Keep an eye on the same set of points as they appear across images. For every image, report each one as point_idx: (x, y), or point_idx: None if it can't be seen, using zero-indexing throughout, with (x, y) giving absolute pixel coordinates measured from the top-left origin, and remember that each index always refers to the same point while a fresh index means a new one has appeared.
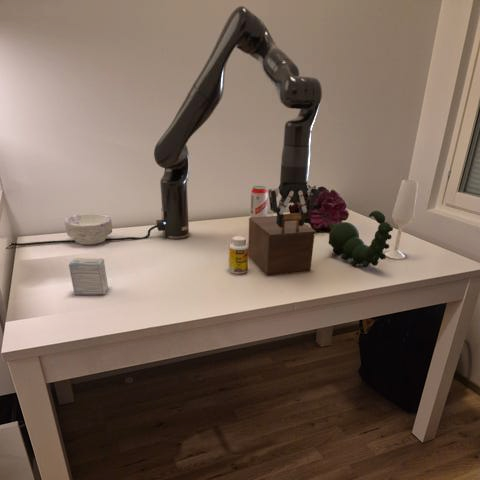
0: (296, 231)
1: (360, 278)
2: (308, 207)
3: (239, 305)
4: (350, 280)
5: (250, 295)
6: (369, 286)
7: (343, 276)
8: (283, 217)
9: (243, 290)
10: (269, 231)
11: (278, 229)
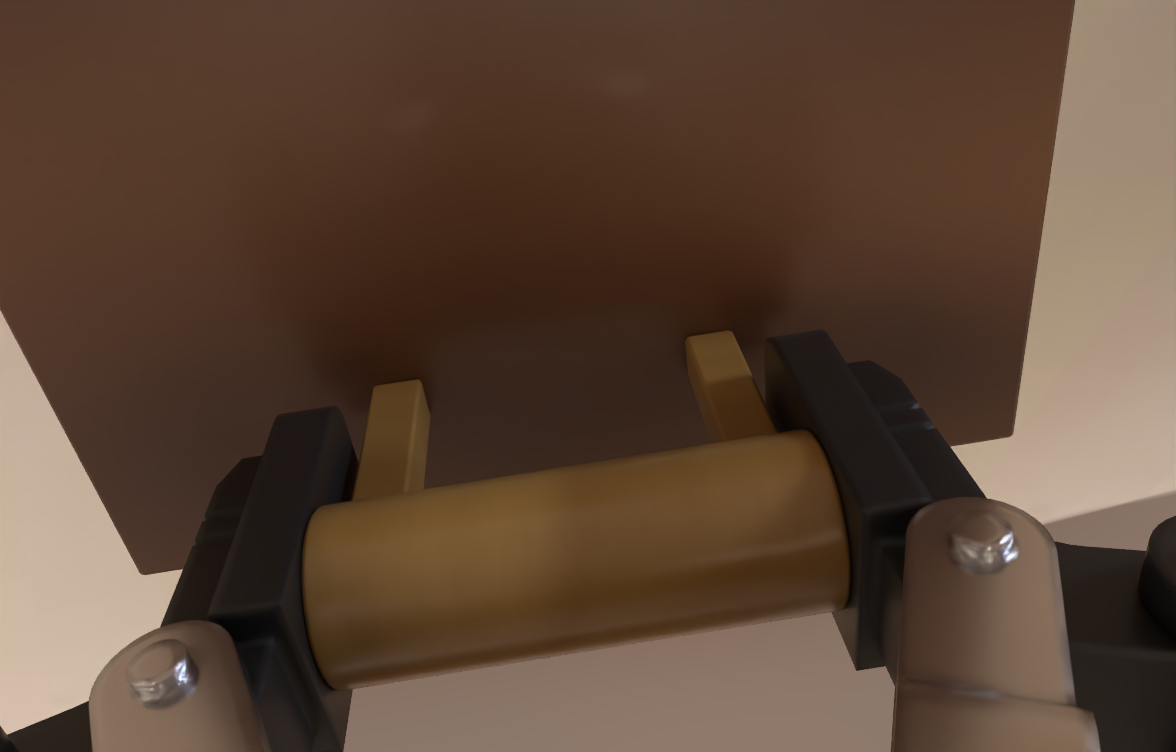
0: (657, 439)
1: (1161, 343)
2: (1125, 743)
3: (46, 690)
4: (1047, 375)
5: (118, 573)
6: (1111, 483)
7: (1046, 290)
8: (344, 693)
9: (47, 496)
10: (121, 419)
11: (324, 307)
